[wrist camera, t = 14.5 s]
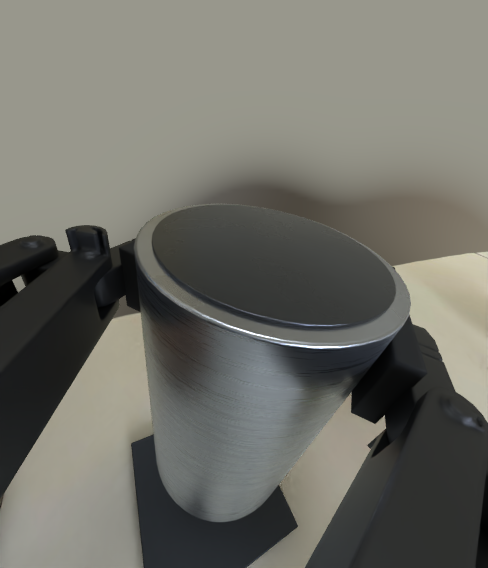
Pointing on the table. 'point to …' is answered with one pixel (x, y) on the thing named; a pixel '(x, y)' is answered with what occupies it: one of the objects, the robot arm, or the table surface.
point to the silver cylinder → (252, 344)
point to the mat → (200, 524)
